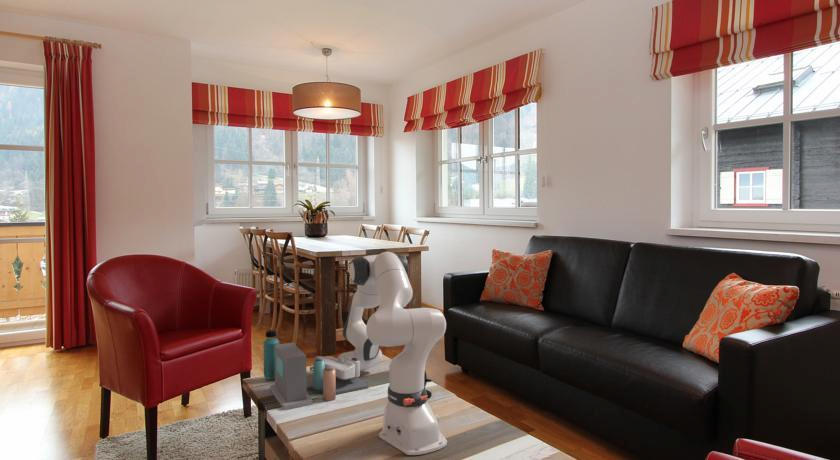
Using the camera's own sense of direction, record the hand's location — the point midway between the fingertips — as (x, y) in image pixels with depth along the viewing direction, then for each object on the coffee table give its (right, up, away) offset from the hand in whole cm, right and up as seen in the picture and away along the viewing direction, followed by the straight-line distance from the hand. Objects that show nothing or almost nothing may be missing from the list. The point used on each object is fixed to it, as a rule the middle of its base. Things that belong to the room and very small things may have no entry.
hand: (317, 371), depth 192 cm
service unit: (-9, -7, -7) cm, 13 cm away
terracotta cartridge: (+6, -7, -9) cm, 13 cm away
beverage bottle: (-21, -6, +10) cm, 24 cm away
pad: (+11, -6, +3) cm, 13 cm away
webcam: (+40, -7, -6) cm, 41 cm away
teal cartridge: (0, -6, +1) cm, 7 cm away
